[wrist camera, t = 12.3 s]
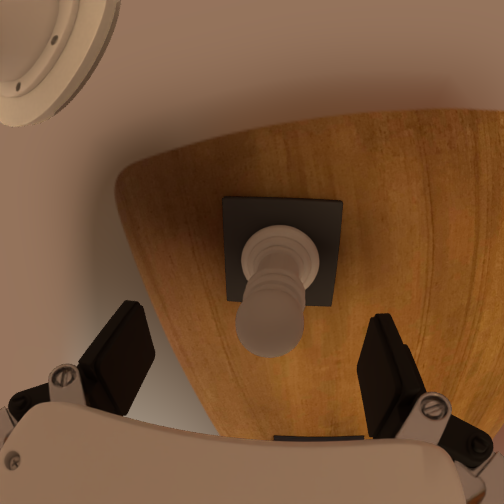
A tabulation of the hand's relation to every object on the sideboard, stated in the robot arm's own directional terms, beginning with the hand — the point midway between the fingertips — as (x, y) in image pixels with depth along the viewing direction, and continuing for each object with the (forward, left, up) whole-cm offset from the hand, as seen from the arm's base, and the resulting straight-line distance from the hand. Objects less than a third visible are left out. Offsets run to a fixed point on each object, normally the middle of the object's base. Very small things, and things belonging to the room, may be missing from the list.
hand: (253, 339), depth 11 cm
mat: (+1, +1, -10) cm, 10 cm away
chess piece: (+1, +1, -10) cm, 10 cm away
